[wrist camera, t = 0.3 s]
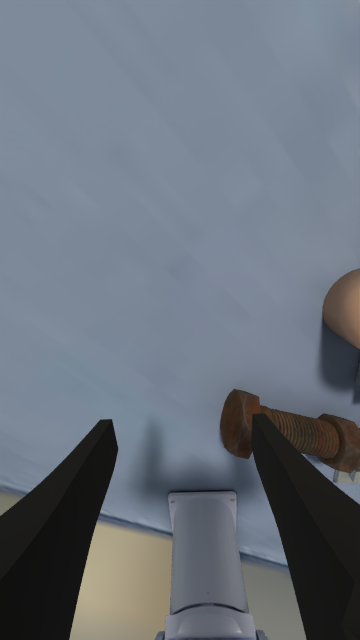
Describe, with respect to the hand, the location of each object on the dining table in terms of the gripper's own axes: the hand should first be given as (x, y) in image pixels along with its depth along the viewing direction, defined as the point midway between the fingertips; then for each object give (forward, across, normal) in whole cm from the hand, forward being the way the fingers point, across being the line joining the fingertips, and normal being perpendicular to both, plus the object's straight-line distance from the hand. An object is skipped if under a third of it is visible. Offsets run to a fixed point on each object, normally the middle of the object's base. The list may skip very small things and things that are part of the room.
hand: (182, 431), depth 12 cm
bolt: (+10, -11, +9) cm, 17 cm away
